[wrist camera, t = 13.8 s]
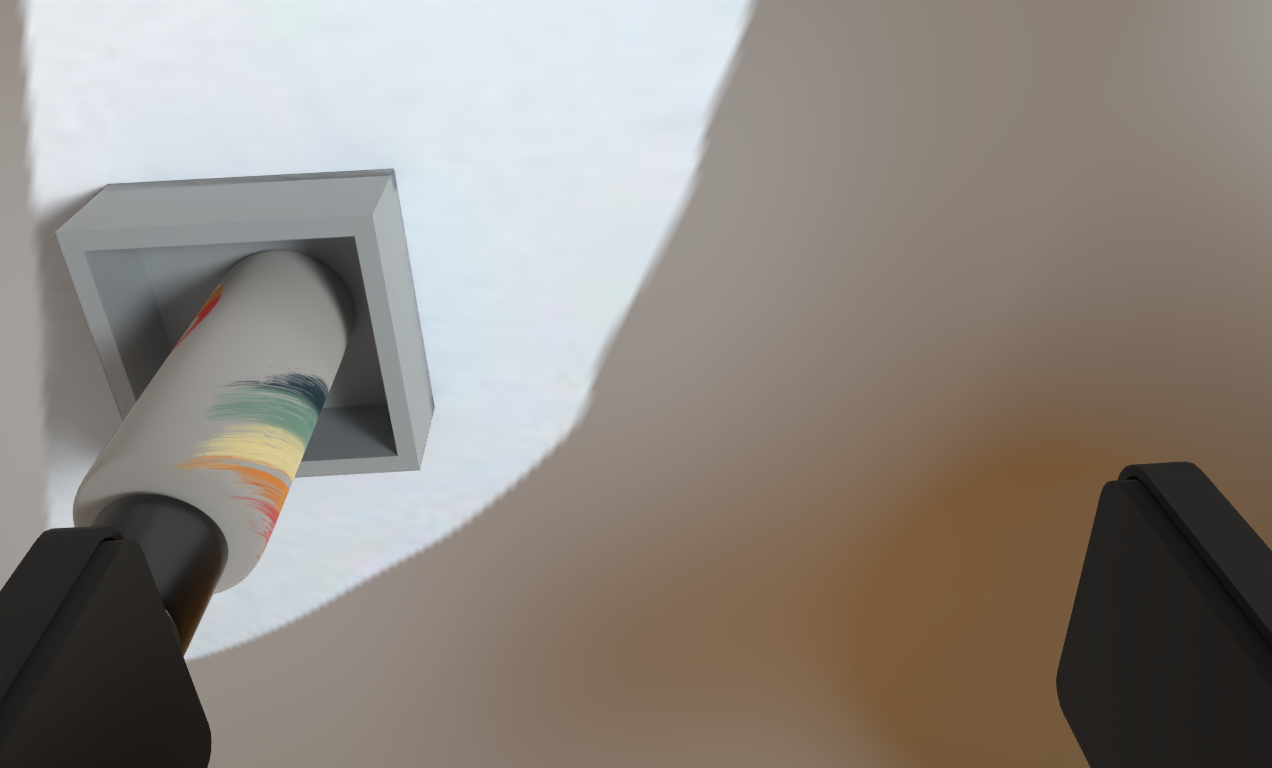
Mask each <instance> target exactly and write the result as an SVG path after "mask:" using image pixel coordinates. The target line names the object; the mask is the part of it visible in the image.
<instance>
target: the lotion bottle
mask: <svg viewBox="0 0 1272 768" xmlns="http://www.w3.org/2000/svg"><path fill="white" fill-rule="evenodd" d="M353 319H354V315H353V306H352V302H351V299H350V296H349V294H348V291H347V289H346V288H345V286H344V284H343V283H342V282H341V280H340V279H339V278H338V277H337V275H336V274H335V273H334V272H333V271H331V270H330V269H329V268H328V267H327V266H325V265H324V264H322V263H321V262H319V261H317V260H316V259H314V258H312V257H310V256H307V255H304V254H301V253H298V252H294V251H288V250H268V251H263V252H259V253H256V254H253V255H251V256H249V257H247V258H245V259H243V260H242V261H240V262H239V263H237V264H236V265H235V266H234V267H233V268H232V269H231V270H230V271H229V272H228V273H227V274H226V276H225V277H224V278H223V279H222V281H221V282H220V283H219V285H218V286H217V287H216V289H215V290H214V292H213V293H212V294H211V296H210V297H209V299H208V300H207V302H206V303H205V304H204V306H203V307H202V309H201V310H200V312H199V313H198V314H197V316H196V317H195V319H194V320H193V322H192V323H191V324H190V326H189V327H188V329H187V330H186V332H185V333H184V334H183V336H182V337H181V339H180V340H179V342H178V343H177V345H176V346H175V347H174V349H173V350H172V352H171V353H170V355H169V356H168V357H167V359H166V360H165V362H164V363H163V365H162V366H161V367H160V369H159V370H158V372H157V373H156V375H155V376H154V377H153V379H152V380H151V382H150V383H149V385H148V386H147V388H146V389H145V390H144V392H143V393H142V395H141V396H140V398H139V399H138V400H137V402H136V403H135V405H134V406H133V408H132V409H131V410H130V412H129V413H128V415H127V416H126V418H125V419H124V420H123V422H122V423H121V425H120V426H119V428H118V429H117V431H116V432H115V433H114V435H113V436H112V438H111V439H110V441H109V442H108V443H107V445H106V446H105V448H104V449H103V451H102V452H101V454H100V455H99V457H98V458H97V460H96V461H95V462H94V464H93V465H92V467H91V468H90V470H89V472H88V473H87V475H86V476H85V478H84V480H83V481H82V483H81V485H80V486H79V489H78V491H77V494H76V497H75V501H74V505H73V520H74V526H75V527H89V526H106V525H108V526H113V527H115V528H117V529H118V530H119V531H120V532H121V534H122V535H123V537H124V539H132V540H136V541H137V542H138V543H139V544H140V546H141V548H142V550H143V552H144V555H145V557H146V560H147V562H148V565H149V568H150V570H151V573H152V576H153V578H154V581H155V584H156V586H157V589H158V592H159V594H160V597H161V600H162V602H163V605H164V607H165V610H166V613H167V615H168V618H169V621H170V623H171V626H172V629H173V631H174V634H175V637H176V639H177V642H178V645H179V647H180V650H181V653H182V655H183V657H184V655H185V653H186V651H187V648H188V646H189V644H190V642H191V640H192V638H193V636H194V634H195V631H196V629H197V627H198V625H199V623H200V621H201V619H202V616H203V614H204V612H205V610H206V608H207V606H208V604H209V602H210V599H211V597H212V595H213V594H216V593H219V592H222V591H225V590H227V589H229V588H231V587H233V586H235V585H237V584H238V583H240V582H241V581H242V580H243V579H245V578H246V577H247V576H248V575H249V574H250V573H251V572H252V570H253V569H254V567H255V566H256V565H257V563H258V562H259V560H260V558H261V556H262V554H263V552H264V550H265V548H266V545H267V543H268V541H269V538H270V536H271V534H272V531H273V529H274V526H275V524H276V521H277V519H278V517H279V514H280V512H281V509H282V507H283V504H284V502H285V499H286V497H287V494H288V492H289V489H290V487H291V484H292V482H293V479H294V477H295V475H296V472H297V470H298V467H299V465H300V462H301V460H302V457H303V455H304V452H305V450H306V447H307V445H308V442H309V440H310V437H311V435H312V432H313V430H314V427H315V425H316V423H317V420H318V418H319V415H320V413H321V410H322V408H323V405H324V403H325V400H326V398H327V395H328V393H329V390H330V388H331V385H332V383H333V380H334V378H335V375H336V373H337V370H338V368H339V366H340V363H341V360H342V358H343V355H344V353H345V350H346V347H347V345H348V342H349V339H350V336H351V332H352V328H353Z"/></svg>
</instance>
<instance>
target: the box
mask: <svg viewBox="0 0 1272 768" xmlns="http://www.w3.org/2000/svg"><path fill="white" fill-rule="evenodd" d="M55 235H56V237H57V240H58V243H59V246H60V248H61V251H62V254H63V257H64V260H65V262H66V265H67V268H68V271H69V273H70V276H71V279H72V282H73V285H74V287H75V290H76V293H77V296H78V298H79V301H80V304H81V307H82V309H83V312H84V315H85V318H86V321H87V323H88V326H89V329H90V332H91V334H92V337H93V340H94V343H95V346H96V348H97V351H98V354H99V357H100V359H101V362H102V365H103V368H104V371H105V373H106V376H107V379H108V382H109V384H110V387H111V390H112V393H113V396H114V398H115V401H116V404H117V407H118V409H119V412H120V415H121V418H122V420H124V419H125V418H126V416H127V415H128V413H129V412H130V410H131V409H132V408H133V406H134V405H135V403H136V402H137V400H138V399H139V398H140V396H141V395H142V393H143V392H144V390H145V389H146V388H147V386H148V385H149V383H150V382H151V380H152V379H153V377H154V376H155V375H156V373H157V372H158V370H159V369H160V367H161V366H162V365H163V363H164V362H165V360H166V359H167V357H168V356H169V355H170V353H171V352H172V350H173V349H174V347H175V346H176V345H177V343H178V342H179V340H180V339H181V337H182V336H183V334H184V333H185V332H186V330H187V329H188V327H189V326H190V324H191V323H192V322H193V320H194V319H195V317H196V316H197V314H198V313H199V312H200V310H201V309H202V307H203V306H204V304H205V303H206V302H207V300H208V299H209V297H210V296H211V294H212V293H213V292H214V290H215V289H216V287H217V286H218V285H219V283H220V282H221V281H222V279H223V278H224V277H225V276H226V274H227V273H228V272H229V271H230V270H231V269H232V268H233V267H234V266H235V265H236V264H237V263H239V262H240V261H242V260H243V259H245V258H247V257H249V256H251V255H253V254H256V253H259V252H263V251H268V250H288V251H294V252H298V253H301V254H304V255H307V256H310V257H312V258H314V259H316V260H317V261H319V262H321V263H322V264H324V265H325V266H327V267H328V268H329V269H330V270H331V271H333V272H334V273H335V274H336V275H337V277H338V278H339V279H340V280H341V282H342V283H343V284H344V286H345V288H346V289H347V291H348V294H349V296H350V299H351V302H352V306H353V315H354V319H353V328H352V332H351V336H350V339H349V342H348V345H347V347H346V350H345V353H344V355H343V358H342V360H341V363H340V366H339V368H338V370H337V373H336V375H335V378H334V380H333V383H332V385H331V388H330V390H329V393H328V395H327V398H326V400H325V403H324V405H323V408H322V410H321V413H320V415H319V418H318V420H317V423H316V425H315V427H314V430H313V432H312V435H311V437H310V440H309V442H308V445H307V447H306V450H305V452H304V455H303V457H302V460H301V462H300V465H299V467H298V470H297V472H296V475H295V477H294V478H296V477H314V476H331V475H348V474H365V473H382V472H399V471H416V470H420V467H421V463H422V459H423V454H424V450H425V446H426V441H427V437H428V433H429V428H430V424H431V420H432V415H433V411H434V402H433V396H432V390H431V384H430V378H429V372H428V367H427V361H426V355H425V349H424V343H423V337H422V331H421V325H420V320H419V314H418V308H417V302H416V296H415V290H414V284H413V278H412V272H411V267H410V261H409V255H408V249H407V243H406V237H405V231H404V225H403V219H402V214H401V208H400V202H399V196H398V190H397V184H396V178H395V172H394V169H380V170H361V171H343V172H324V173H306V174H287V175H269V176H250V177H232V178H213V179H195V180H176V181H157V182H139V183H120V184H108V185H107V186H106V187H105V188H104V189H103V190H102V191H100V192H99V193H98V194H97V195H96V196H95V197H94V198H93V199H91V200H90V201H89V202H88V203H87V204H86V205H85V206H84V207H82V208H81V209H80V210H79V211H78V212H77V213H76V214H75V215H73V216H72V217H71V218H70V219H69V220H68V221H67V222H66V223H64V224H63V225H62V226H61V227H60V228H59V229H58V230H57V231H55Z"/></svg>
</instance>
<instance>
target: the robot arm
mask: <svg viewBox="0 0 1272 768" xmlns="http://www.w3.org/2000/svg"><path fill="white" fill-rule="evenodd" d="M1056 682H1057V683H1056V684H1057V694H1058V699H1059V702H1060V706H1061V708H1062V711H1063V714H1064V716H1065V718H1066V720H1067V722H1068V724H1069V725H1070V727H1071V729H1072V731H1073V733H1074V735H1075V737H1076V739H1077V741H1078V743H1079V745H1080V747H1081V749H1082V751H1083V753H1084V755H1085V757H1086V759H1087V761H1088V763H1089V765H1090V767H1091V768H1272V551H1271V549H1270V548H1269V547H1268V546H1267V545H1266V544H1265V543H1264V541H1263V540H1262V539H1261V538H1260V537H1259V536H1258V535H1257V533H1256V532H1255V531H1254V530H1253V529H1252V528H1251V527H1250V526H1249V524H1248V523H1247V522H1246V521H1245V520H1244V519H1243V517H1242V516H1241V515H1240V514H1239V513H1238V512H1237V510H1236V509H1235V508H1234V507H1233V506H1232V505H1231V504H1230V502H1229V501H1228V500H1227V499H1226V498H1225V497H1224V496H1223V495H1222V493H1221V492H1220V491H1219V490H1218V489H1217V488H1216V487H1215V485H1214V484H1213V483H1212V482H1211V481H1210V480H1209V478H1208V477H1207V476H1206V475H1205V474H1204V473H1203V472H1202V470H1201V469H1199V468H1198V467H1197V466H1196V465H1195V464H1193V463H1189V462H1170V463H1154V464H1136V465H1130V466H1127V467H1125V468H1124V469H1123V470H1122V472H1121V473H1120V475H1119V477H1118V480H1117V481H1110V482H1107V483H1106V484H1105V486H1104V487H1103V489H1102V492H1101V495H1100V499H1099V503H1098V507H1097V511H1096V515H1095V519H1094V524H1093V528H1092V532H1091V536H1090V540H1089V544H1088V548H1087V552H1086V556H1085V560H1084V564H1083V569H1082V573H1081V577H1080V581H1079V585H1078V589H1077V593H1076V598H1075V601H1074V606H1073V610H1072V614H1071V618H1070V622H1069V626H1068V630H1067V634H1066V638H1065V643H1064V647H1063V651H1062V655H1061V659H1060V663H1059V667H1058V672H1057V678H1056ZM210 754H211V731H210V728H209V724H208V721H207V719H206V716H205V714H204V711H203V708H202V705H201V703H200V700H199V698H198V695H197V692H196V690H195V687H194V684H193V682H192V679H191V676H190V674H189V671H188V668H187V666H186V663H185V660H184V658H183V655H182V653H181V650H180V647H179V645H178V642H177V639H176V637H175V634H174V631H173V629H172V626H171V623H170V621H169V618H168V615H167V613H166V610H165V607H164V605H163V602H162V600H161V597H160V594H159V592H158V589H157V586H156V584H155V581H154V578H153V576H152V573H151V570H150V568H149V565H148V562H147V560H146V557H145V555H144V552H143V550H142V548H141V546H140V544H139V543H138V542H137V541H136V540H132V539H124V537H123V535H122V534H121V532H120V531H119V530H118V529H117V528H115V527H113V526H108V525H106V526H89V527H72V528H55V529H50V530H47V531H45V532H43V533H42V535H40V537H39V538H38V539H37V540H36V542H35V543H34V544H33V546H32V547H31V548H30V550H29V551H28V553H27V554H26V556H25V557H24V558H23V560H22V561H21V563H20V564H19V565H18V567H17V568H16V570H15V571H14V573H13V574H12V575H11V577H10V578H9V580H8V581H7V582H6V584H5V585H4V587H3V588H2V590H1V591H0V768H207V767H208V763H209V759H210Z"/></svg>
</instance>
